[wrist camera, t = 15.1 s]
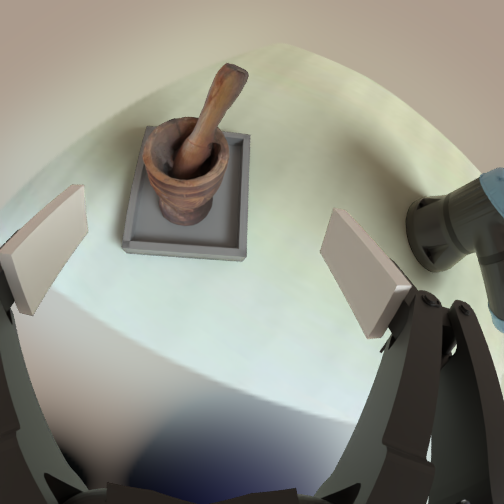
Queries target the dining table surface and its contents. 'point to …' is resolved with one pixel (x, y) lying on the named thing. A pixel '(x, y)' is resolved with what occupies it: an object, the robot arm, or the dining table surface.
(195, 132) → the mortar and pestle
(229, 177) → the tray
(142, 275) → the dining table surface
